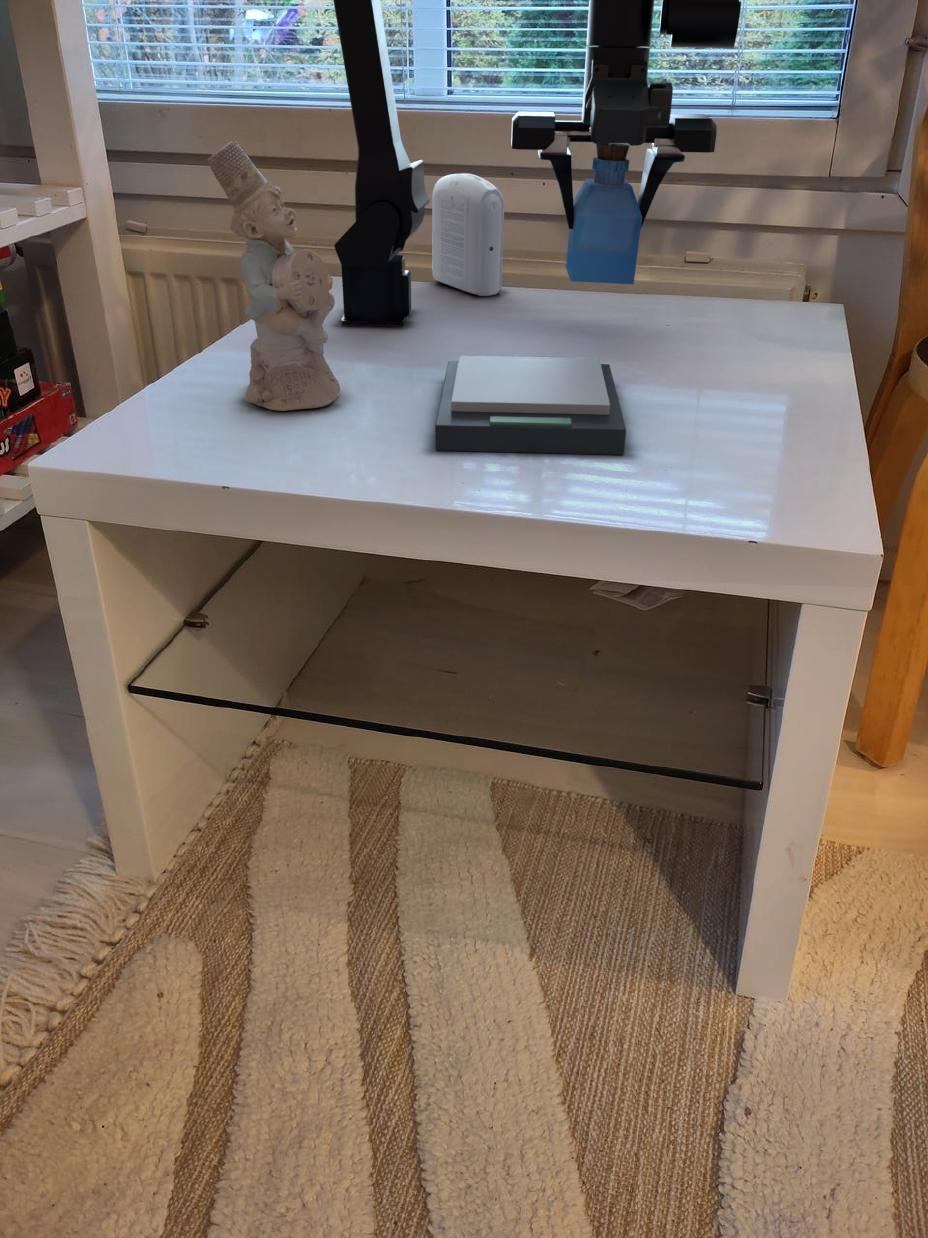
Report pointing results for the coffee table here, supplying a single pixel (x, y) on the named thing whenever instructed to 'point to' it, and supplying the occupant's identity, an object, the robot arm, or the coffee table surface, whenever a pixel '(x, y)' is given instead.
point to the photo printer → (467, 234)
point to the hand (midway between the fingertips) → (603, 228)
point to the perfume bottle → (605, 222)
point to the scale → (529, 406)
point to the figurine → (278, 291)
